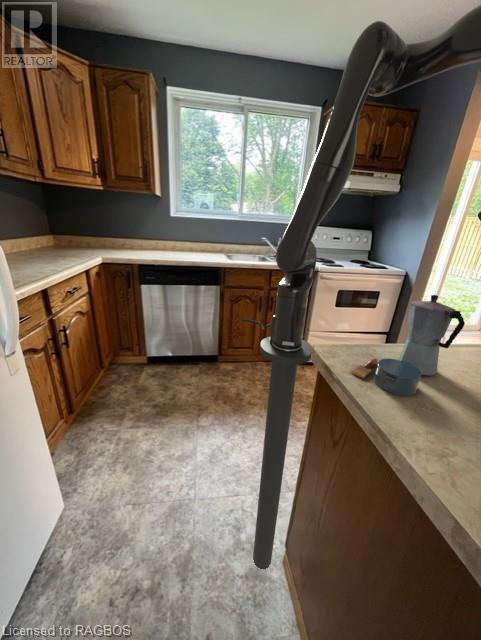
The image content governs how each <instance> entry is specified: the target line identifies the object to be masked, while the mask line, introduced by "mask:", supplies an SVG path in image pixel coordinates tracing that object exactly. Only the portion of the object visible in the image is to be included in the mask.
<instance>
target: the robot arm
mask: <svg viewBox="0 0 481 640" xmlns="http://www.w3.org/2000/svg"><path fill="white" fill-rule="evenodd" d="M477 63H481V4H479V5H478V6H476V7H474V8H473V9H472V10H470V11H467V12H466V13H465V14H464V15H463V16H461V17H460V18H459V19H458V20H457V21H455V22H453V24H452V25H451V26H449V27H448V28H446V30H444V31H443V32H442V33H440V34H439V35H437V36H434V37H432V38H431V39H428V40H424V41H420V42H414V43H406V42H405V41H404V39H403V38H402V37H401V36H400V35H399V34H398V33H397V32H396V31H395V30H394V29H393V28H392V27H391V26H390V25H389V24H388V23H386V22H385V21H382V20H377V21H374V22H371V24H369V25H368V26H367V27H365V29H364V30H363V31H362V32H361V33H360V35H359V36H358V38H357V39H356V41H355V43H354V44H353V46H352V49H351V51H350V52H349V54H348V58H347V62H346V64H345V67H344V70H343V73H342V76H341V81H340V83H339V87H338V89H337V93H336V97H335V100H334V103H333V107H332V110H331V113H330V117H329V118H328V122H327V124H326V128H325V130H324V133H323V136H322V139H321V142H320V144H319V146H318V149H317V152H316V154H315V156H314V158H313V161H312V163H311V167H310V169H309V171H308V175H307V177H306V180H305V183H304V186H303V189H302V191H301V194H300V197H299V198H298V202H297V204H296V207H295V209H294V212H293V215H292V217H291V220H290V222H289V224H288V226H287V228H286V229H285V231H284V234H283V235H282V237H281V240H280V242H279V243H278V246H277V248H276V253H275V263H276V265H277V268H279V270H280V271H281V272H283V273H284V276H283V278H282V279H281V280H280V282H279V283H278V284H277V288H276V289H277V290H276V300H275V311H274V315H272V317H271V322H270V324H266V325H263V323H261V322H260V321H257V320H254V319H253V320H252V319H247V318H242V320H241V321H243V322H247V323H253V324H257V325H259V326H260V327H261V330H262V331H267V329H268V328H269V332H270V336H269V337H270V344H272V346H273V347H274V348H275V349H277V350H279V351H283V352H297V351H299V350H301V347H302V340H303V338H304V330H305V322H306V315H307V308H308V301H309V293H310V289H311V288H312V285H313V282H314V277H315V271H316V266H317V259H318V256H317V255H318V251H317V247H316V245H315V243H314V242H313V241H312V239H313V237H314V235H315V233H316V230H317V228H318V227H319V225H320V223H321V221H322V220H323V219H324V218H325V216H327V214H328V213H329V212H330V210H331V209H332V207H333V206H334V205H335V203H337V200H339V198H340V196H341V195H342V192H343V190H344V188H345V186H346V184H347V182H348V180H349V177H350V176H351V173H352V170H353V167H354V165H355V160H356V153H357V152H356V151H357V141H358V140H357V138H358V137H357V136H358V126H359V121H360V117H361V112H362V109H363V106H364V104H365V102H366V99H367V97H368V96H370V97H374V98H379V97H383V96H387V95H389V94H392V93H394V92H398V91H399V90H402V89H404V88H407V87H408V86H412V85H413V84H415V83H419V82H422V81H424V80H427V79H429V78H432V77H435V76H436V75H440V74H442V73H445V72H448V71H451V70H454V69H458V68H461V67H465V66H468V65H473V64H477ZM477 218H478V219H479V221H480V222H481V211H479V212H478V213H477Z"/></svg>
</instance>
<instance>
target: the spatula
mask: <svg viewBox="0 0 481 640" xmlns="http://www.w3.org/2000/svg"><path fill="white" fill-rule="evenodd" d="M378 361H379V360H378V359H377V358H375V357H374V358H372V359H371V360H370V361H368V362H367V363H366V364H364V365H362V364H361V365H359V366H357V368H355V369H354V370H352V371H351V373H352V375H354V376H356V377H359V378H361V379H365V378H366V377H368V376H369V375H370V374H371V373H372V372H373V369H372V367H374V366H375V365H377V364H378Z"/></svg>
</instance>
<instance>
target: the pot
mask: <svg viewBox="0 0 481 640" xmlns="http://www.w3.org/2000/svg"><path fill="white" fill-rule="evenodd" d="M377 361H378V362H377V363H376V369H375V373H374V376H373V381H374V383H375V385H376V386H378V387H379V388H380V389H382V390H384V391H385V392H388V393H391V394H394V395H398V396H403V397H404V396H406V397H409V396H413V395H415V394H416V393H417V390H418V387H419V385H420V381H421V378H422V375H421V371H420V370H419V369H418V368H416V367H415V366H413V365H411V363H408V362H406V361H403V360H402V361H400V360H398V359H396V358H381V359H380V360H377Z"/></svg>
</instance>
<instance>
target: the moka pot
mask: <svg viewBox="0 0 481 640" xmlns="http://www.w3.org/2000/svg"><path fill="white" fill-rule="evenodd" d="M438 299H439V296H438V295H437V294H432V295H431V294H430V300H411V301H410V303H409V306H408V317H407V318H408V319H407V328H406V329H407V338H406V340H405V342H404V345H403V348H402V350H401V353H400V354H399V357H398V359H397V360H400V361H402V360H403V361H406V362H408V363H411V365H413V366H415V367H416V368H418V369H419V370H420V371H421V376H428V377H429V376H430V377H432V376H434V375H436V374H437V372H438V365H439V354H440V348H444V349H449V347H450V346H451V345H452V343H453V342H454V341H455V340H456V338H457V336H458V335H459V334H460V333H461V331H463V329H464V326H465V324H466V322H465V319H464V317H463V316H462V313H461V310H456V309H455V308H453V307H451V306H449V305H446V304H444V303H440V302H439V301H438V302H437V300H438ZM453 319H456V320H457V321H458V323H457V325H456V327H454V329H453V331H452V333H450V335H449V337H448V339H447V340H446V341H445V342H444V343H443V342H442V339H443V338H445V336H446V333H447V331H448V329H449V326H450V324H451V322H452V321H453Z"/></svg>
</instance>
